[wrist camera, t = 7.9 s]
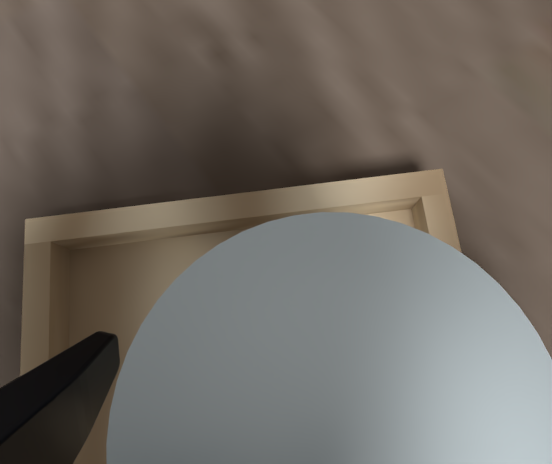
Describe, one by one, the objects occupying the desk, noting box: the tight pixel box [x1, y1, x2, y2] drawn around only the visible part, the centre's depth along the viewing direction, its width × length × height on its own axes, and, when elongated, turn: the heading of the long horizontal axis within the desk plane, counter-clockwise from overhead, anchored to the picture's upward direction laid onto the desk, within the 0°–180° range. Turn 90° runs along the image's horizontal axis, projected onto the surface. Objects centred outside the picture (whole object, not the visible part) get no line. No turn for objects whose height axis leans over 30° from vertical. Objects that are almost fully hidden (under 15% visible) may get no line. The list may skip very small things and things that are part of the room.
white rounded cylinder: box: [106, 212, 552, 464], centre depth 11 cm, size 5×5×12 cm
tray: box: [20, 169, 462, 464], centre depth 17 cm, size 16×14×2 cm
